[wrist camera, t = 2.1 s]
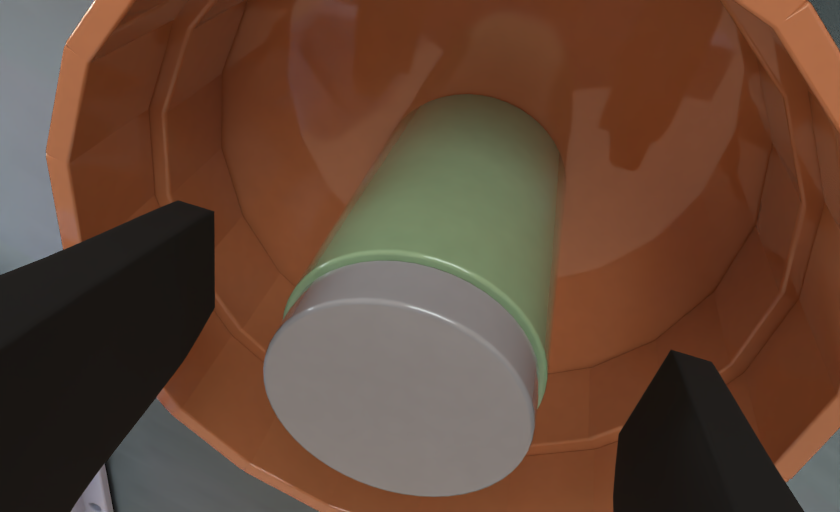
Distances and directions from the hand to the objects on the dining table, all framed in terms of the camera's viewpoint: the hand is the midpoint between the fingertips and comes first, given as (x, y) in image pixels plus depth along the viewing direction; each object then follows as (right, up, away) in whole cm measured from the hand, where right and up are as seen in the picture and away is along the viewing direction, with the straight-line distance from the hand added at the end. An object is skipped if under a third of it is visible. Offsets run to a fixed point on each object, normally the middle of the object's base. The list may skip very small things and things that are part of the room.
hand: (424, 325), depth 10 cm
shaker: (+1, +3, +4) cm, 5 cm away
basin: (+1, +3, +4) cm, 5 cm away
